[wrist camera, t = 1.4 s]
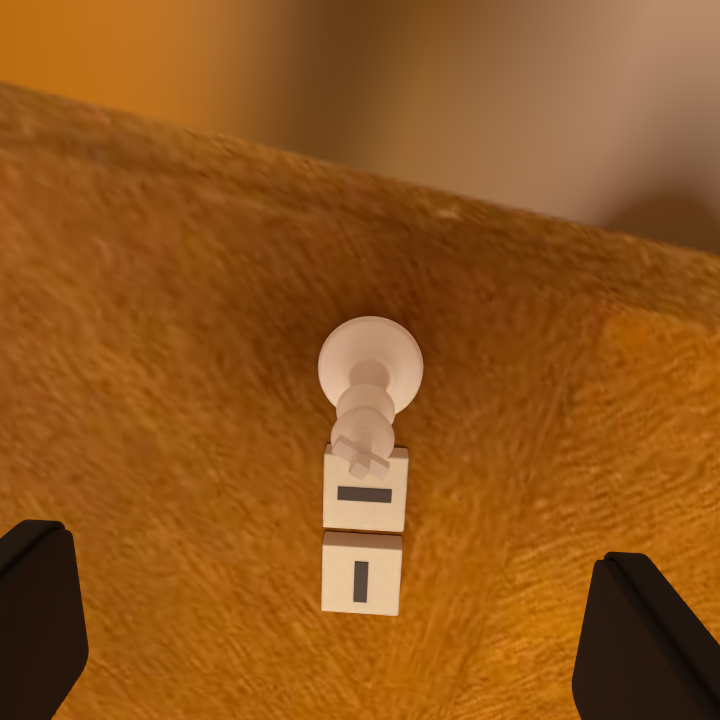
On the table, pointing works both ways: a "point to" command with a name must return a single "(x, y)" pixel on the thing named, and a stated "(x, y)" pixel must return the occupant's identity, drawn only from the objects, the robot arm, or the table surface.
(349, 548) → the cream flat block
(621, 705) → the robot arm
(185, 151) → the table surface
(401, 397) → the chess piece
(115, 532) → the table surface
